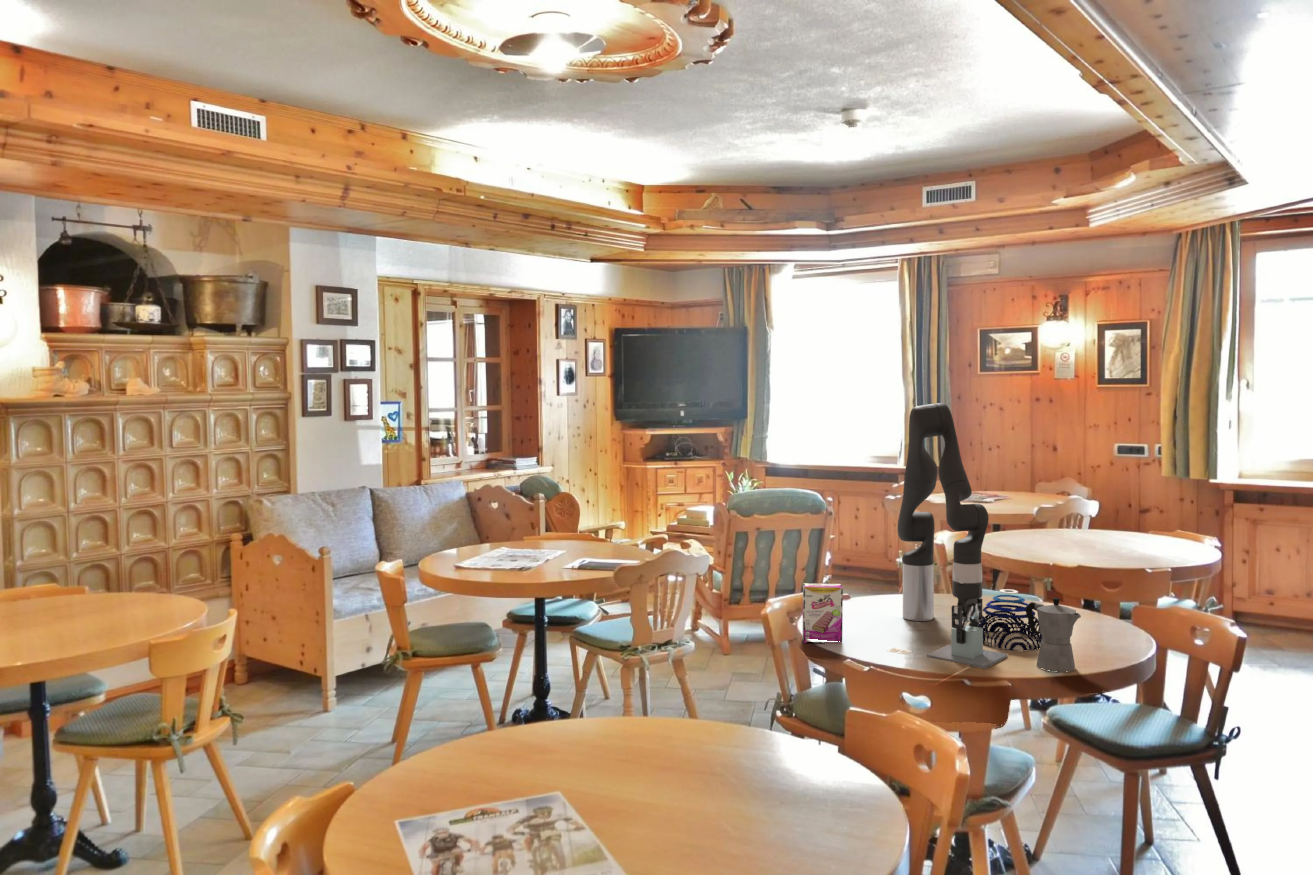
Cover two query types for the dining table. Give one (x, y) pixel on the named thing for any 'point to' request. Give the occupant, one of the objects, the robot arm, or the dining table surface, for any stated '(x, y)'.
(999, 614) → the decorative bowl
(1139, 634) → the dining table surface
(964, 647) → the pale green block
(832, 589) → the candy bar box
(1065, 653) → the coffeepot
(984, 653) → the slate plate
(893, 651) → the brown coaster
